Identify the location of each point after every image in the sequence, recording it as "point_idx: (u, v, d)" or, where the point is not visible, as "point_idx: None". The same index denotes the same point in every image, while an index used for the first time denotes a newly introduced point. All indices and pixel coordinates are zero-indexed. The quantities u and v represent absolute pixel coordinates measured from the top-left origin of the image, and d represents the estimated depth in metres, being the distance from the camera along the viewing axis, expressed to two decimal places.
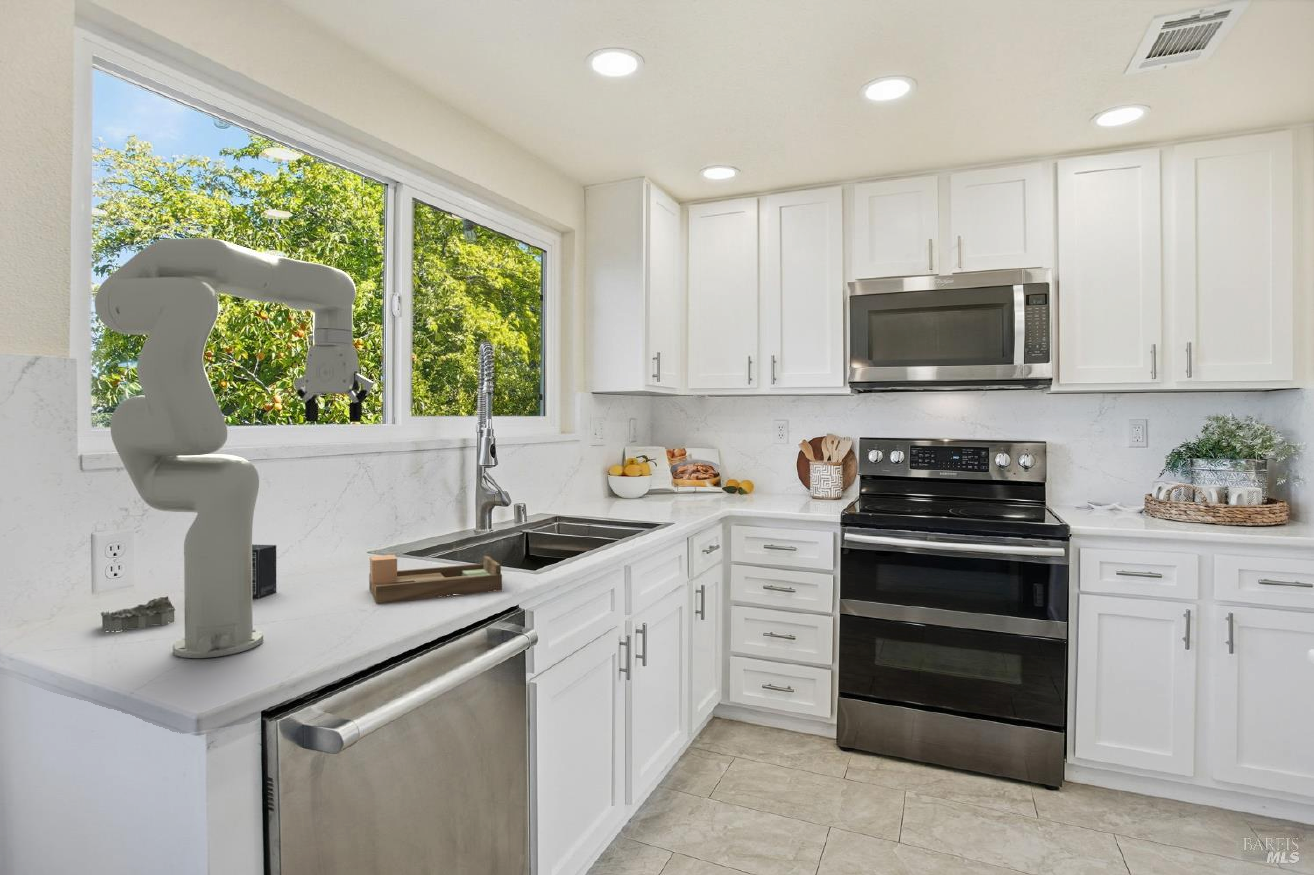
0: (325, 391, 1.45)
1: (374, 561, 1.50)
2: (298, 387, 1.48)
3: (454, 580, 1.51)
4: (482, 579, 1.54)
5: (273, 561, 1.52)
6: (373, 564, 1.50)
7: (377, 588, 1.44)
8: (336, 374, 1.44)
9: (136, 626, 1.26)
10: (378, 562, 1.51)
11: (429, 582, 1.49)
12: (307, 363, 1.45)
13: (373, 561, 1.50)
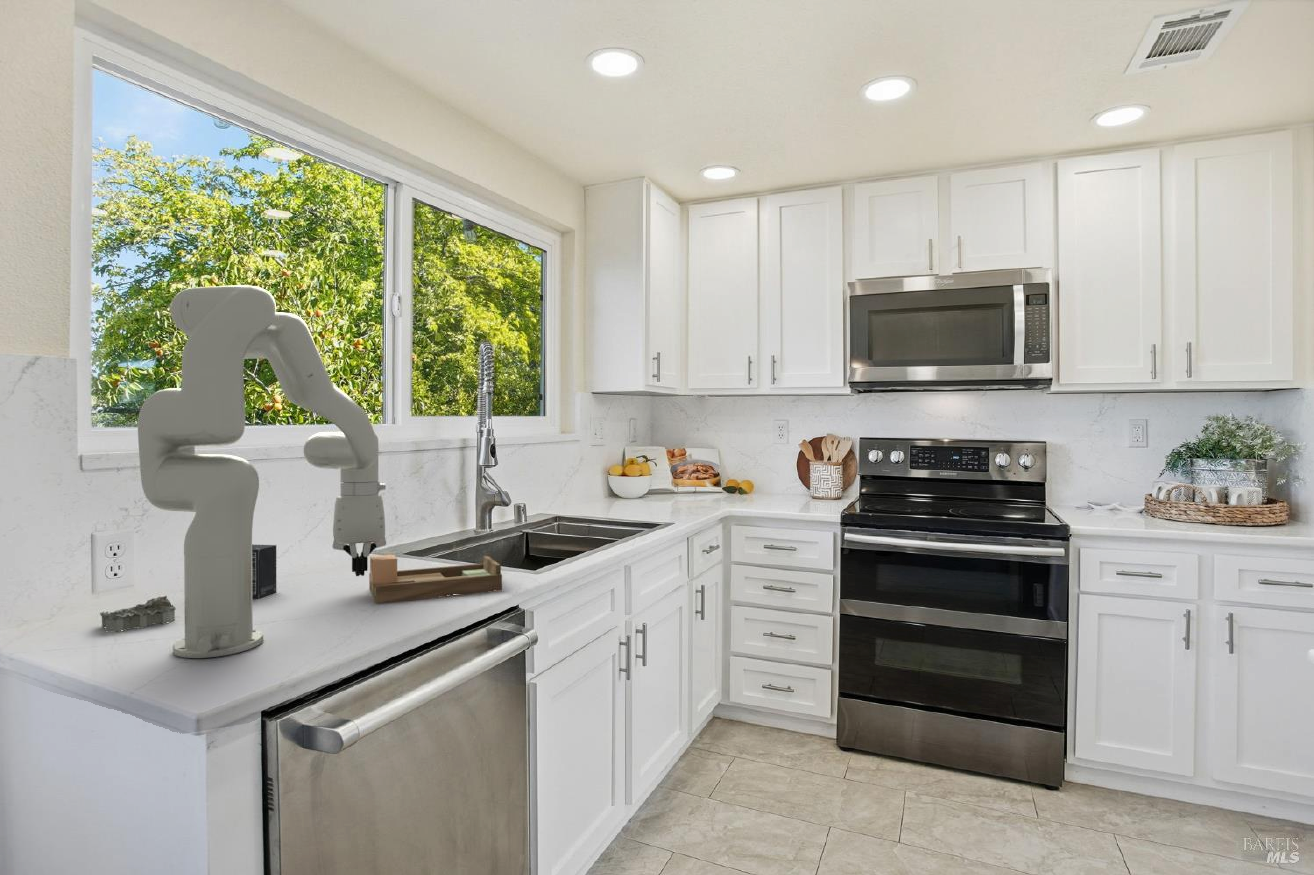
0: None
1: (374, 561, 1.50)
2: None
3: (454, 580, 1.51)
4: (482, 579, 1.54)
5: (274, 561, 1.52)
6: (373, 564, 1.50)
7: (377, 588, 1.44)
8: None
9: (137, 626, 1.26)
10: (378, 562, 1.51)
11: (429, 582, 1.49)
12: None
13: (373, 561, 1.50)
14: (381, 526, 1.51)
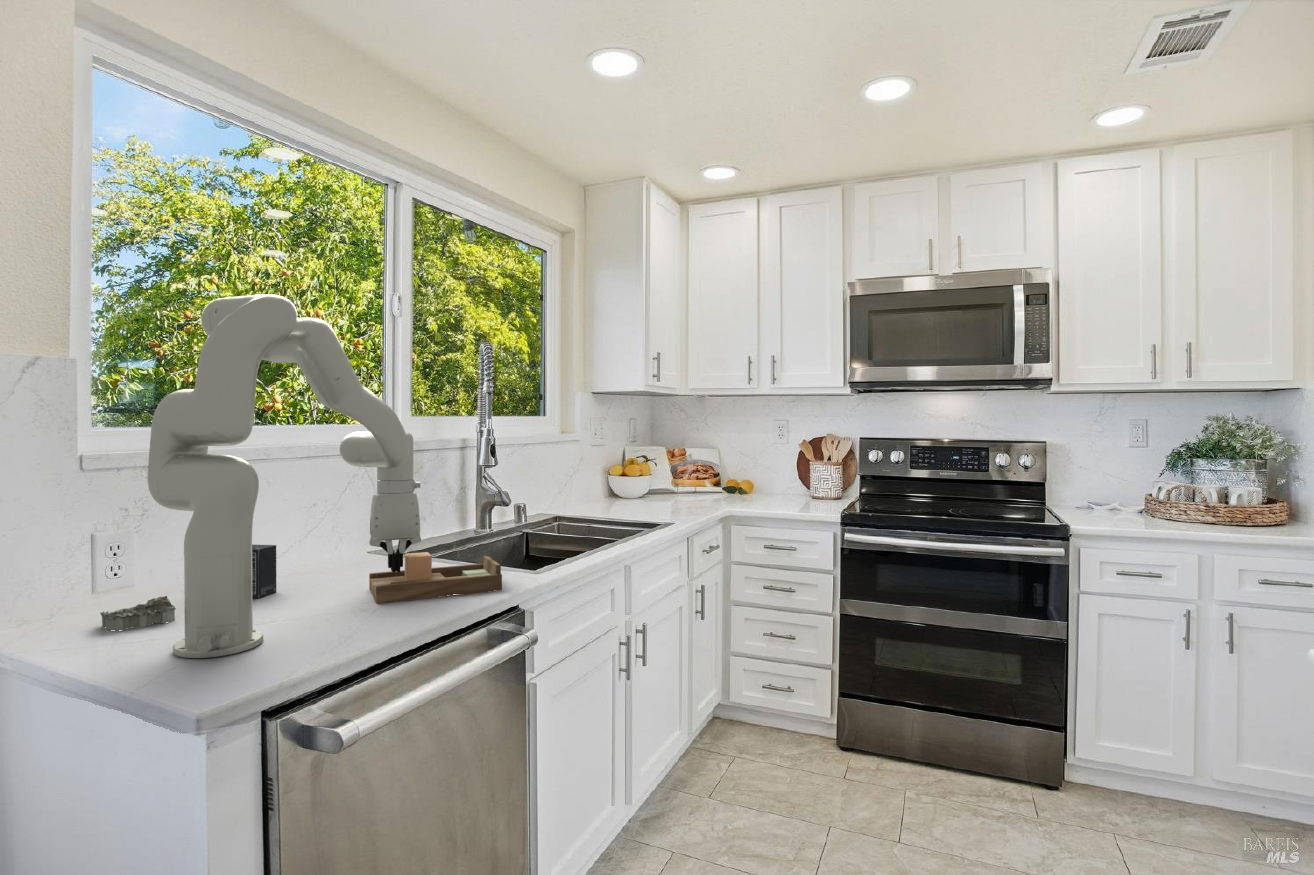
0: None
1: (409, 558, 1.54)
2: None
3: (454, 580, 1.51)
4: (482, 579, 1.54)
5: (273, 561, 1.52)
6: (408, 561, 1.54)
7: (377, 588, 1.44)
8: None
9: (137, 625, 1.26)
10: (413, 559, 1.54)
11: (429, 582, 1.49)
12: None
13: (408, 558, 1.54)
14: (416, 523, 1.55)
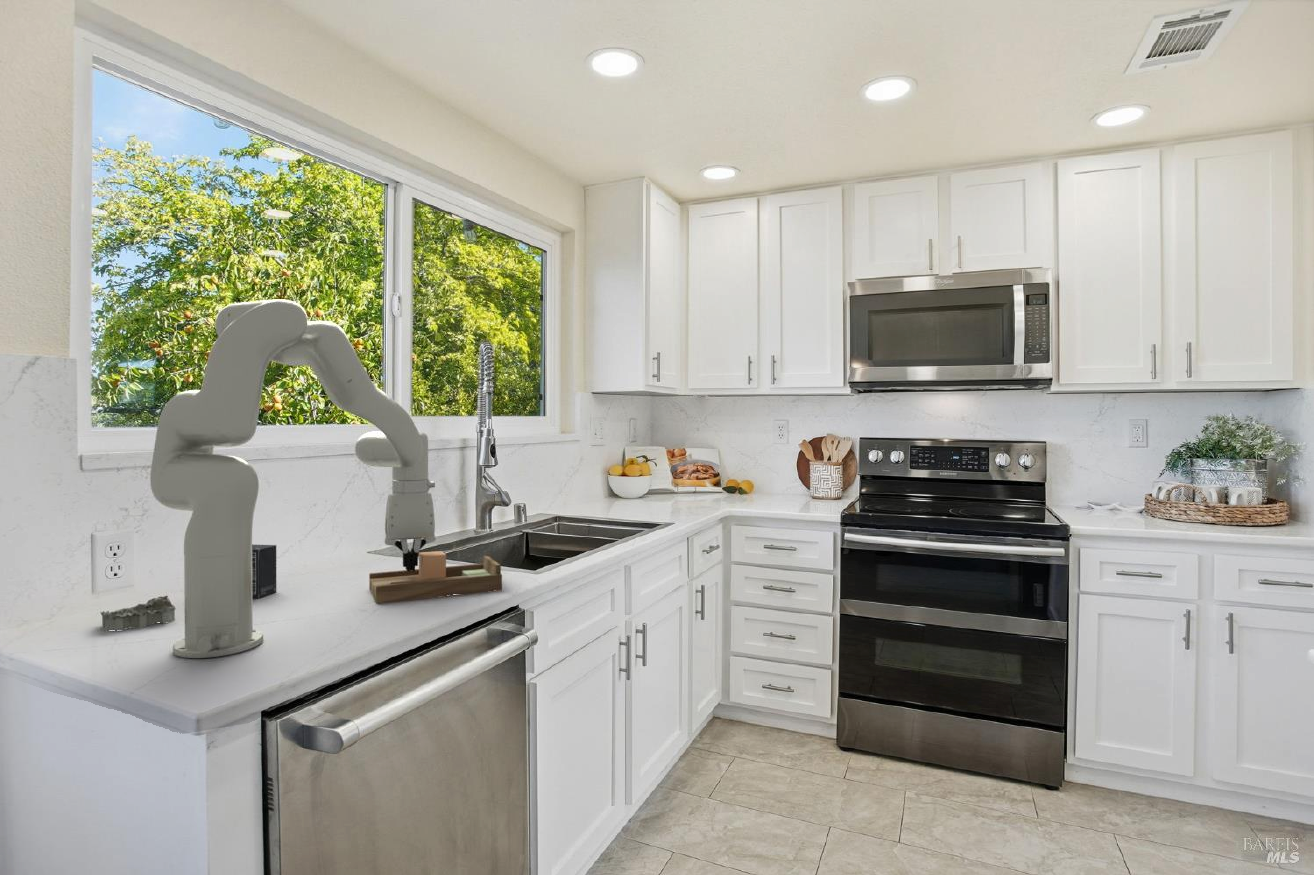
0: None
1: (424, 557, 1.55)
2: None
3: (454, 580, 1.51)
4: (482, 579, 1.54)
5: (273, 561, 1.52)
6: (423, 560, 1.55)
7: (377, 588, 1.44)
8: None
9: (137, 625, 1.26)
10: (428, 558, 1.56)
11: (429, 582, 1.49)
12: None
13: (423, 557, 1.55)
14: (431, 523, 1.56)
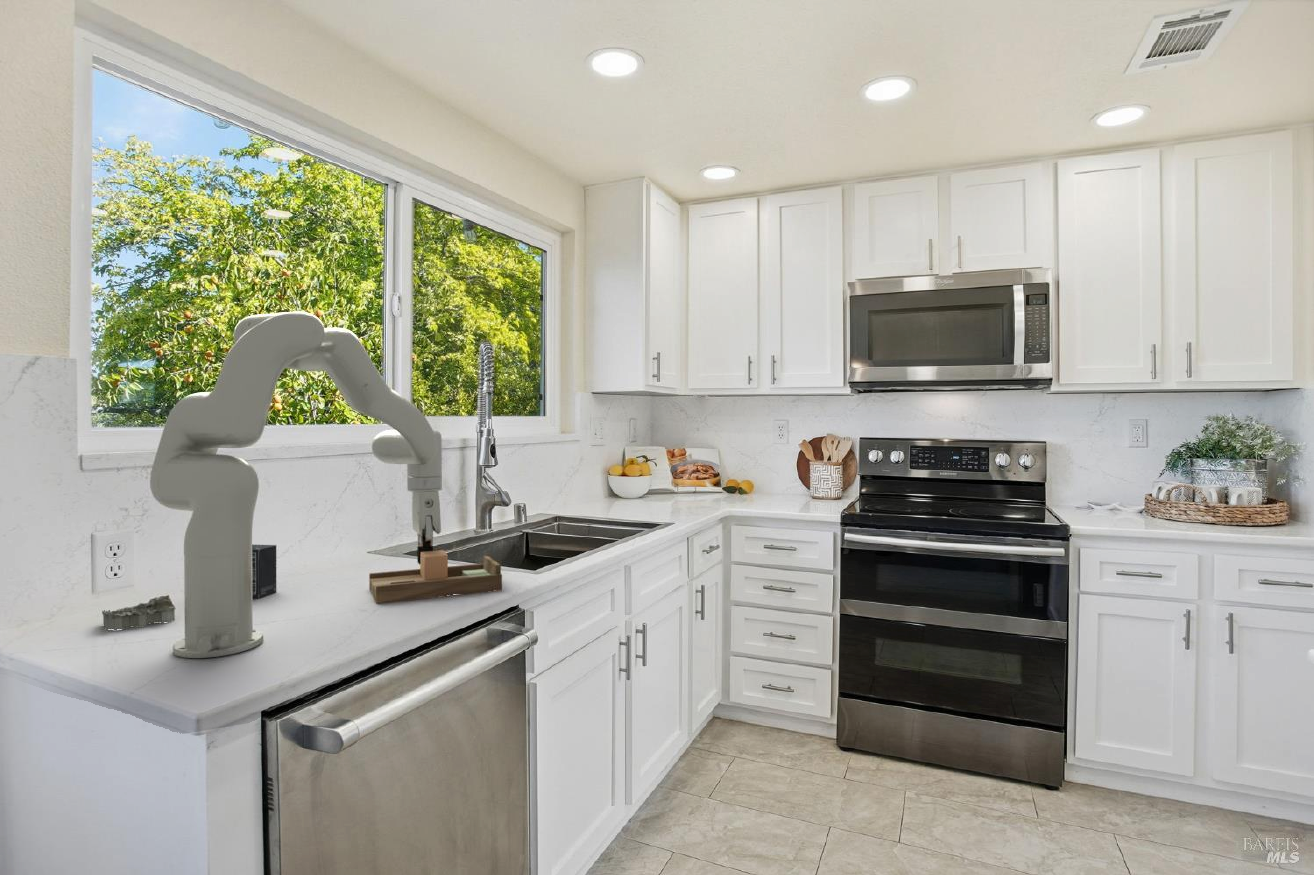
0: None
1: (426, 558, 1.55)
2: None
3: (454, 580, 1.51)
4: (482, 579, 1.54)
5: (273, 561, 1.52)
6: (425, 560, 1.55)
7: (377, 588, 1.44)
8: None
9: (136, 625, 1.26)
10: (430, 559, 1.55)
11: (429, 582, 1.49)
12: (439, 507, 1.59)
13: (425, 558, 1.55)
14: (418, 521, 1.57)
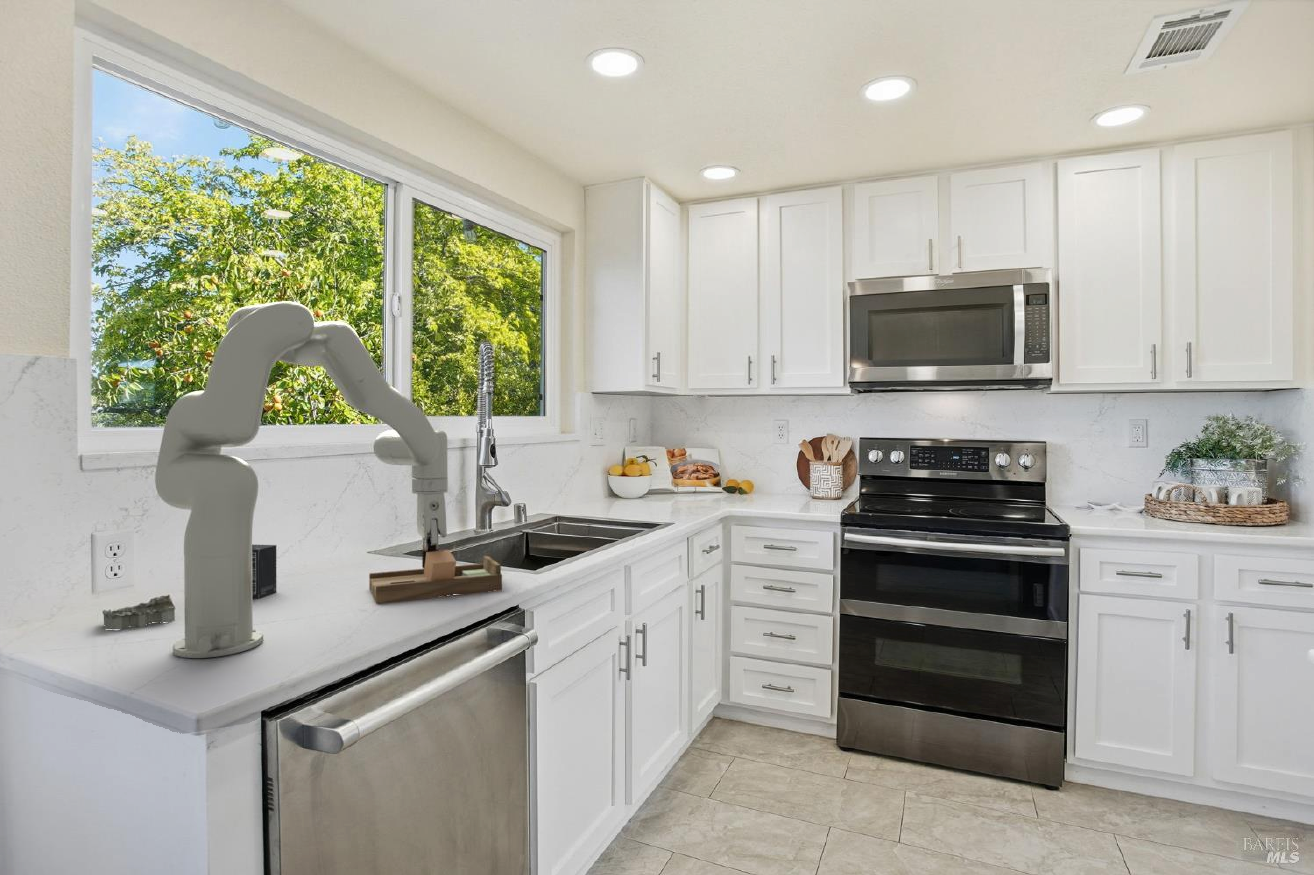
0: None
1: (435, 564, 1.49)
2: None
3: (454, 580, 1.51)
4: (482, 579, 1.54)
5: (273, 561, 1.52)
6: (433, 567, 1.50)
7: (377, 588, 1.44)
8: None
9: (136, 625, 1.27)
10: (438, 565, 1.50)
11: (429, 582, 1.49)
12: (445, 510, 1.53)
13: (434, 564, 1.49)
14: (423, 524, 1.51)
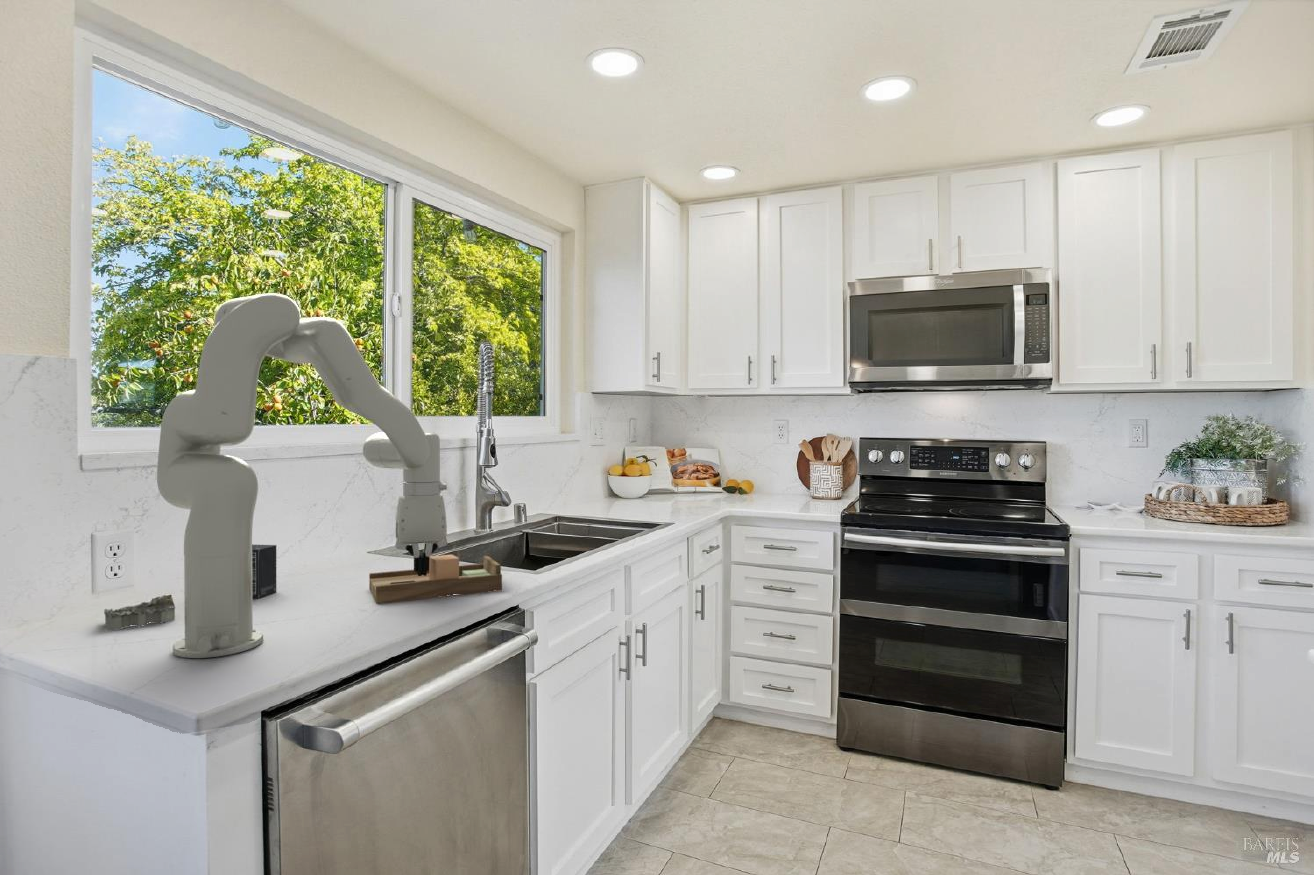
0: None
1: (438, 561, 1.51)
2: None
3: (454, 580, 1.51)
4: (482, 579, 1.54)
5: (274, 561, 1.52)
6: (437, 564, 1.51)
7: (377, 588, 1.44)
8: None
9: (136, 624, 1.27)
10: (441, 562, 1.51)
11: (429, 582, 1.49)
12: None
13: (437, 561, 1.51)
14: (443, 526, 1.52)
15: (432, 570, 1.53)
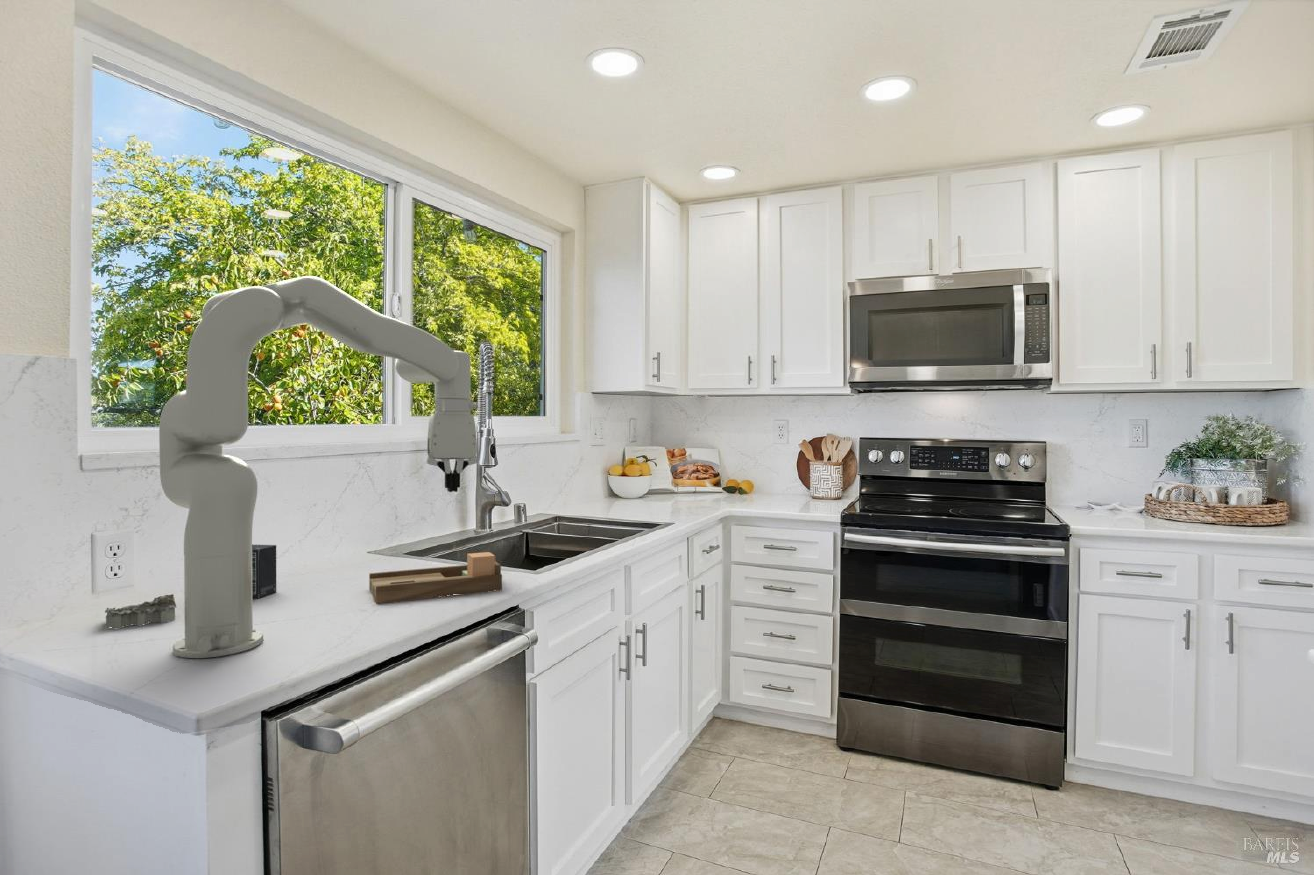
0: None
1: (474, 558, 1.55)
2: None
3: (454, 580, 1.51)
4: (482, 579, 1.54)
5: (273, 561, 1.52)
6: (473, 561, 1.55)
7: (377, 588, 1.44)
8: None
9: (136, 623, 1.27)
10: (478, 559, 1.55)
11: (429, 582, 1.49)
12: None
13: (473, 558, 1.55)
14: (473, 443, 1.54)
15: (469, 567, 1.57)
